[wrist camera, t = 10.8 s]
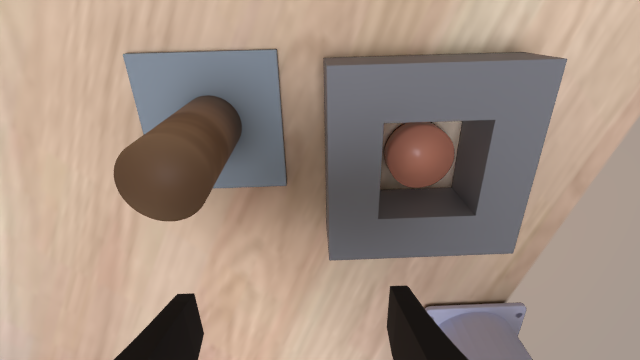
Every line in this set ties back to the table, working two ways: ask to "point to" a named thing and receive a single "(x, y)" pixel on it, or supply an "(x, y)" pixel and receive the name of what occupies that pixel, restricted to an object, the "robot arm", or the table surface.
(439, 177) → the orange domed disc
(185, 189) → the dowel
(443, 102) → the frame
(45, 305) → the table surface
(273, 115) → the mat
